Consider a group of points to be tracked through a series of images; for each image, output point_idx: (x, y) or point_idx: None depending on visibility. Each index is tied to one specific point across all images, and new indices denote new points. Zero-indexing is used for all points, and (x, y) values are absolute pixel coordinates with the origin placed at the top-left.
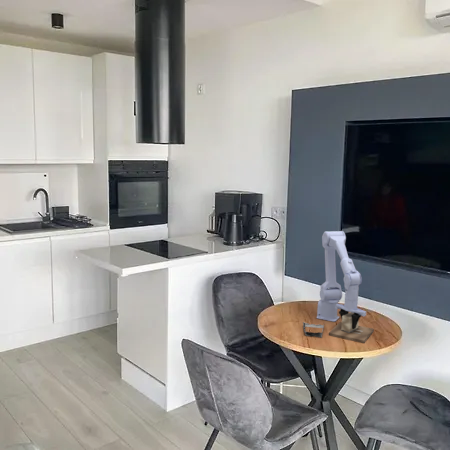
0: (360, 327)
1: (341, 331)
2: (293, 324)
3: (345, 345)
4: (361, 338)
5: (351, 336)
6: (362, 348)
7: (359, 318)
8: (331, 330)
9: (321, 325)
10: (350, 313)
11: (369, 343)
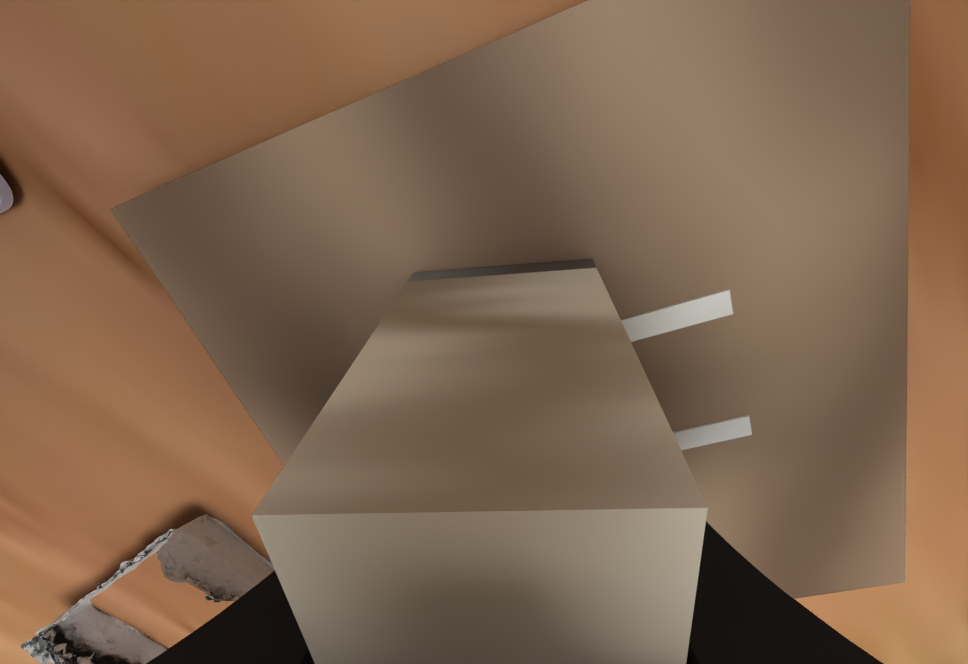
0: (577, 126)
1: None
2: (3, 629)
3: None
4: (839, 552)
5: None
6: (906, 653)
7: (817, 622)
8: None
9: (160, 540)
10: (366, 649)
11: (950, 506)
